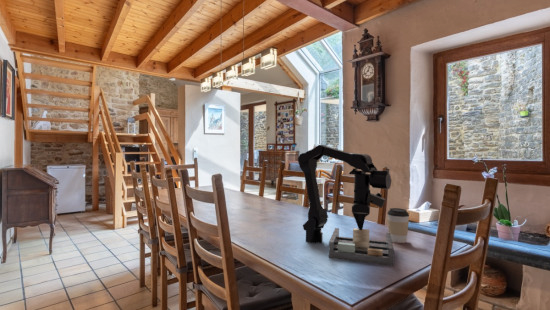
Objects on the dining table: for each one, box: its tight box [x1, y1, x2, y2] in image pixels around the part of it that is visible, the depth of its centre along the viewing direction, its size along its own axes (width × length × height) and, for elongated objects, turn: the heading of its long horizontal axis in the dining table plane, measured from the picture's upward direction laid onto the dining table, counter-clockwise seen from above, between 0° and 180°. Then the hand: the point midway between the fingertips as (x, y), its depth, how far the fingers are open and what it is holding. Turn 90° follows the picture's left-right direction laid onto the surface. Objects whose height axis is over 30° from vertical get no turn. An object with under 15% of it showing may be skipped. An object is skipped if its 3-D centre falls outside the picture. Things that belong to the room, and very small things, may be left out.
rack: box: [328, 227, 395, 267], centre depth 114 cm, size 22×20×7 cm
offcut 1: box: [338, 242, 355, 253], centre depth 109 cm, size 6×2×5 cm, turn 72°
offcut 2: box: [368, 248, 383, 256], centre depth 106 cm, size 5×2×4 cm, turn 72°
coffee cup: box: [386, 207, 410, 244], centre depth 130 cm, size 9×9×15 cm
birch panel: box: [352, 227, 370, 248], centre depth 114 cm, size 6×2×9 cm, turn 72°
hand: (361, 226), depth 114 cm, fingers open, 9 cm apart
